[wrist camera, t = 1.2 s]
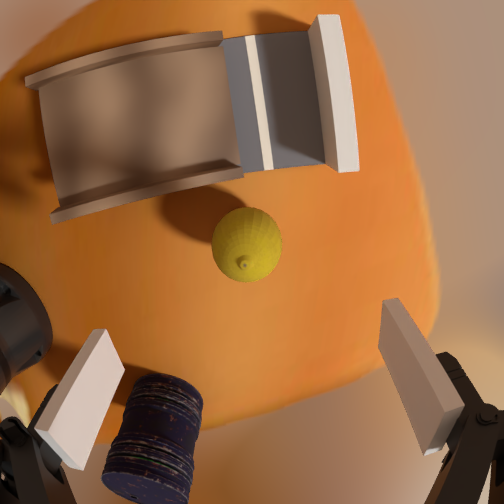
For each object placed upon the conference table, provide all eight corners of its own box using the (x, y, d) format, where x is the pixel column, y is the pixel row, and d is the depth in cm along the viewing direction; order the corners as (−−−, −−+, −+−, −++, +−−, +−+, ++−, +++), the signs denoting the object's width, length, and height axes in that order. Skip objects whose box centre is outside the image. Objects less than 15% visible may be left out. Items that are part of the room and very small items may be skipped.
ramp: (90, 198, 28) (43, 226, 20) (70, 85, 24) (16, 81, 16) (245, 170, 27) (241, 190, 19) (226, 41, 23) (214, 11, 15)
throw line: (264, 169, 27) (264, 170, 27) (244, 37, 22) (244, 36, 22) (273, 168, 27) (273, 169, 27) (254, 36, 22) (254, 34, 22)
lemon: (211, 203, 28) (196, 234, 21) (273, 192, 28) (280, 220, 21) (224, 259, 30) (214, 305, 23) (282, 250, 30) (290, 294, 23)
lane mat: (228, 174, 27) (228, 175, 27) (208, 42, 23) (208, 42, 22) (342, 161, 27) (343, 162, 26) (325, 31, 22) (326, 30, 22)
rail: (324, 163, 27) (338, 172, 22) (307, 31, 22) (317, 14, 17) (342, 161, 27) (359, 170, 22) (325, 31, 22) (339, 14, 17)
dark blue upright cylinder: (153, 360, 36) (117, 462, 22) (218, 398, 38) (207, 499, 25) (122, 396, 39) (89, 482, 25) (180, 427, 41) (163, 513, 28)
